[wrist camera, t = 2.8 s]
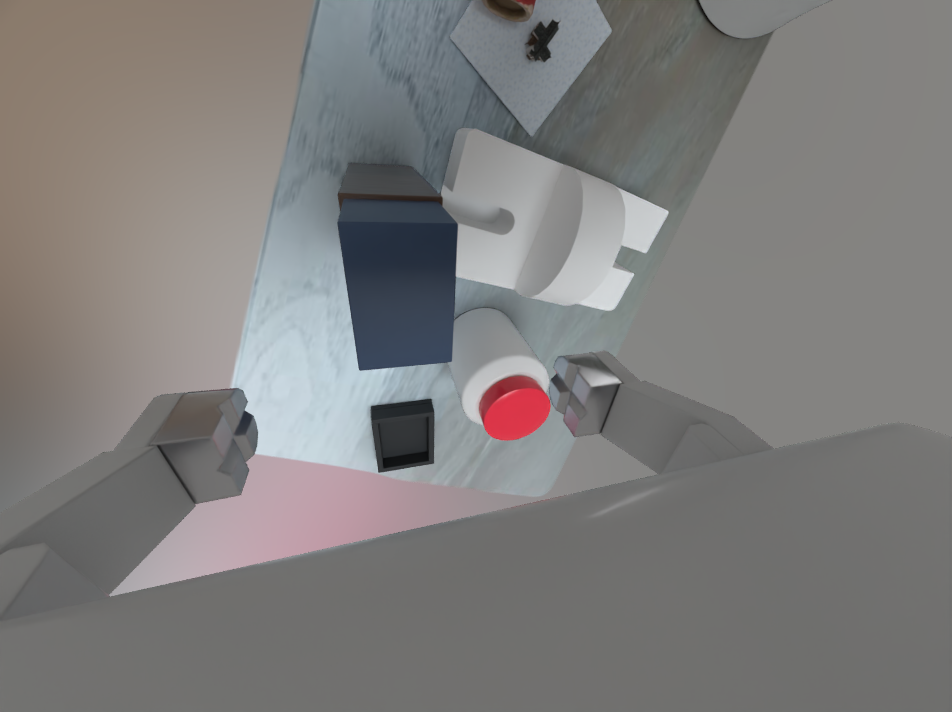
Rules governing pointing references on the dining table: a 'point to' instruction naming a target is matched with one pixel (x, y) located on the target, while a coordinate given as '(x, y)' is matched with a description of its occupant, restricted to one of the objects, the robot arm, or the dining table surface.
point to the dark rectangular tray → (403, 434)
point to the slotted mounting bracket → (541, 223)
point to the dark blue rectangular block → (399, 280)
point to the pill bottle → (498, 375)
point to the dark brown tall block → (385, 184)
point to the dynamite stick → (511, 9)
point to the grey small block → (532, 52)
